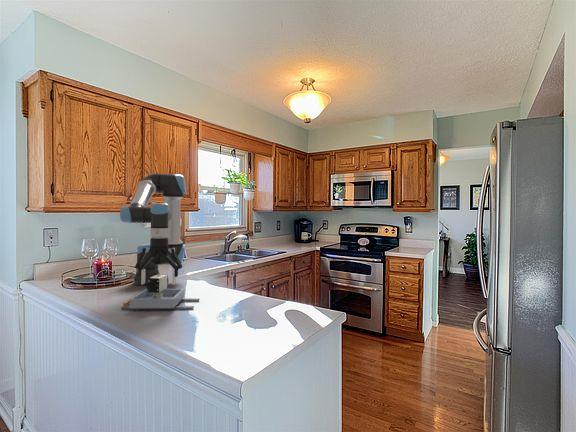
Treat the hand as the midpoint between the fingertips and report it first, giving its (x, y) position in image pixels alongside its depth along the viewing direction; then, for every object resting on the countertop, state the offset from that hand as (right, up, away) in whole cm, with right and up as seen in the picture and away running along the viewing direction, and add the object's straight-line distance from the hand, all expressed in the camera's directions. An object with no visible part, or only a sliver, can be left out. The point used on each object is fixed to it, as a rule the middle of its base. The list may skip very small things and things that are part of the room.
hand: (158, 283), depth 141 cm
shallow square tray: (0, -8, 0) cm, 8 cm away
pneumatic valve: (-1, -8, 0) cm, 8 cm away
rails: (+2, -10, 0) cm, 10 cm away
